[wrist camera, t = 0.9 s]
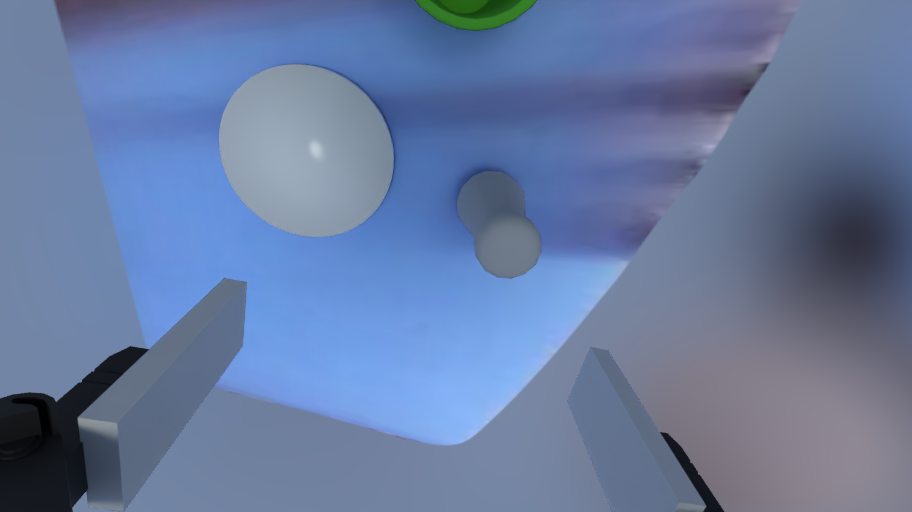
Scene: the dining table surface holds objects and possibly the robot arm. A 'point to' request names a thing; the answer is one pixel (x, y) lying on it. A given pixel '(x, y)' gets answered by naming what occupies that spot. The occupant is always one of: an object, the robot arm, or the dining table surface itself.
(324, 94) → the ceramic plate
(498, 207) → the salt shaker
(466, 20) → the cup
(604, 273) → the dining table surface
